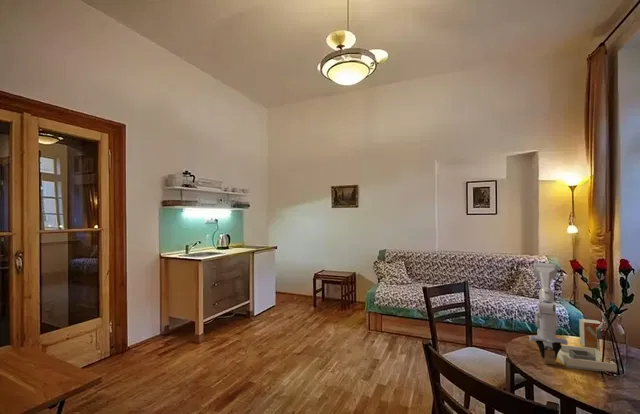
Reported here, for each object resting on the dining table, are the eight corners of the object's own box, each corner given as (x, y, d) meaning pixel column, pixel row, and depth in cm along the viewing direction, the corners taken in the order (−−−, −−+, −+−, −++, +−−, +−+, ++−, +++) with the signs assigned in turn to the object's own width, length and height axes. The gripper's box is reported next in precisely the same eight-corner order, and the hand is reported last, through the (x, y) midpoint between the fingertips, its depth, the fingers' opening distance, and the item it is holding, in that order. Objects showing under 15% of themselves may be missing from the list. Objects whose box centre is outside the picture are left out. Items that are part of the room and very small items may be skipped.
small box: (584, 347, 164) (583, 322, 165) (579, 342, 170) (578, 318, 171) (604, 349, 161) (603, 323, 162) (598, 345, 167) (597, 320, 168)
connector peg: (542, 359, 149) (541, 344, 149) (552, 361, 148) (551, 345, 148) (545, 363, 145) (544, 348, 146) (555, 364, 144) (554, 349, 144)
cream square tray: (552, 351, 159) (552, 343, 159) (596, 356, 153) (596, 348, 153) (566, 367, 142) (566, 358, 142) (617, 373, 136) (616, 364, 136)
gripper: (532, 329, 146) (533, 359, 145) (569, 333, 141) (571, 364, 141) (527, 324, 153) (528, 353, 152) (563, 327, 148) (564, 357, 147)
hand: (548, 358), depth 147 cm, fingers closed on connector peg, 4 cm apart
